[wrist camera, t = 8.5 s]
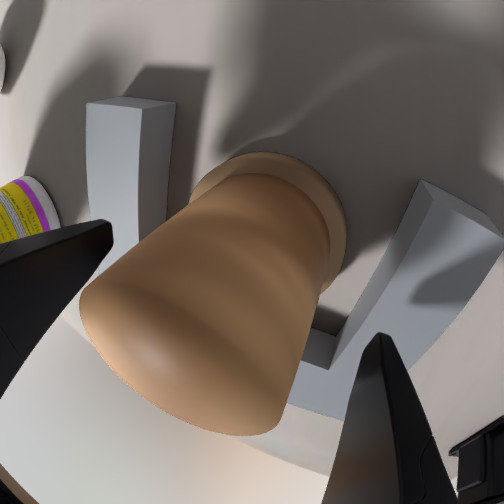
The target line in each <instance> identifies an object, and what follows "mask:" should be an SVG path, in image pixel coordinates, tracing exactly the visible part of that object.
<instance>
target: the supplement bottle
mask: <svg viewBox="0 0 504 504" xmlns="http://www.w3.org/2000/svg"><path fill="white" fill-rule="evenodd" d="M58 228H61V227H60V222H59V218H58V215H57V212H56V209H55V207H54V205H53V203H52V201H51V199H50V197H49V195H48V194H47V192H46V191H45V189H44V188H43V186H42V185H41V184H40V183H39V182H38V181H37V180H35V179H34V178H32V177H30V176H23V177H20V178H18V179H16V180H14V181H12V182H10V183H8V184H7V185H5V186H3V187H1V188H0V244H1V243H5V242H8V241H13V240H15V239H19V238H23V237H26V236H30V235H34V234H38V233H42V232H46V231H50V230H54V229H58Z"/></svg>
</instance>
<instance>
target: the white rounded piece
mask: <svg viewBox="0 0 504 504" xmlns="http://www.w3.org/2000/svg"><path fill="white" fill-rule="evenodd" d="M5 66H6V63H5V55H4V52H3V49H2V47H1V45H0V92H1V89H2V86H3V82H4V76H5Z"/></svg>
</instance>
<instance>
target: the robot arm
mask: <svg viewBox="0 0 504 504" xmlns="http://www.w3.org/2000/svg"><path fill="white" fill-rule="evenodd" d="M113 245H114V238H113V227H112V224H111V222H109V221H107V220H105V219H97V220H93V221H88V222H84V223H79V224H75V225H71V226H66V227H62V228H58V229H54V230H50V231H46V232H42V233H38V234H34V235H30V236H26V237H23V238H19V239H15V240H13V241H8V242H5V243H1V244H0V399H1V397H2V396H3V394H4V392H5V391H6V389H7V388H8V386H9V384H10V383H11V381H12V380H13V378H14V377H15V375H16V374H17V372H18V371H19V369H20V368H21V366H22V365H23V363H24V361H25V360H26V359H27V357H28V356H29V355H30V353H31V352H32V350H33V349H34V348H35V346H36V345H37V343H38V342H39V340H40V339H41V338H42V337H43V335H44V334H45V333H46V331H47V330H48V329H49V328H50V326H51V325H52V324H53V322H54V321H55V320H56V318H57V317H58V316H59V315H60V314H61V312H62V311H63V310H64V309H65V307H66V306H67V305H68V304H69V303H70V301H71V300H72V299H73V298H74V297H75V295H76V294H77V293H78V292H79V291H80V289H81V288H82V287H83V286H84V285H85V284H86V282H87V281H88V280H89V279H90V277H91V276H92V275H93V273H94V272H95V271H96V269H97V268H98V266H99V265H100V264H101V262H102V261H103V260H104V258H105V257H106V256H107V254H108V253H109V252H110V250H111V249H112V247H113ZM449 456H456V457H459V461H458V478H457V492H458V499H457V496H456V493H455V491H454V488H453V486H452V484H451V481H450V479H449V476H448V474H447V471H446V469H445V466H444V464H443V461H442V459H441V456H440V453H439V450H438V448H437V445H436V442H435V439H434V436H432V431H431V428H430V426H429V423H428V420H427V418H426V415H425V413H424V410H423V407H422V405H421V402H420V400H419V398H418V395H417V393H416V390H415V388H414V386H413V383H412V381H411V379H410V376H409V374H408V372H407V369H406V367H405V365H404V363H403V360H402V358H401V356H400V354H399V352H398V350H397V347H396V345H395V343H394V341H393V339H392V337H391V336H390V335H388V334H385V333H382V332H377V333H376V334H375V336H374V337H373V338H372V339H371V341H370V342H369V343H368V345H367V346H366V347H365V349H364V350H363V353H362V356H361V359H360V363H359V367H358V370H357V374H356V377H355V381H354V384H353V387H352V390H351V394H350V397H349V401H348V406H347V410H346V415H345V420H344V424H343V429H342V433H341V437H340V441H339V445H338V449H337V453H336V457H335V461H334V464H333V468H332V471H331V475H330V478H329V481H328V485H327V488H326V491H325V494H324V497H323V500H322V503H321V504H504V418H502V419H499V420H498V421H496V422H495V423H493V424H492V425H490V426H489V427H487V428H486V429H484V430H483V431H481V432H480V433H478V434H476V435H475V436H473V437H472V438H470V439H468V440H467V441H465V442H463V443H462V444H460V445H458V446H456V447H455V448H453V449H451V450H449ZM0 504H39V503H38V502H37V501H36V500H35V499H33V497H32V496H30V495H29V494H28V493H27V492H26V491H25V490H24V489H23V488H22V487H21V486H20V485H19V484H18V483H17V482H16V481H15V479H14V478H13V477H12V476H11V475H10V474H9V473H8V472H7V471H6V470H5V468H4V467H3V466H2V465H1V464H0Z"/></svg>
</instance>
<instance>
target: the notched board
mask: <svg viewBox="0 0 504 504" xmlns="http://www.w3.org/2000/svg"><path fill="white" fill-rule="evenodd" d="M176 104H177V103H173V102H166V101H159V100H152V99H143V98H134V97H124V96H120V97H114V98H109V99H103V100H98V101H94V102H89V103H87V104H86V170H87V187H88V199H89V210H90V219H91V221H93V220H97V219H105V220H107V221H109V222H111V224H112V227H113V238H114V245H113V247H112V249H111V250H110V252H109V253H108V254H107V256H106V257H105V258H104V260H103V261H102V262H101V264H100V265H99V266H98V272H99V275H100V274H101V273H103V272H104V271H105V270H106V269H107V268H109V267H110V266H111V265H112V264H113V263H114V262H116V261H117V260H118V259H119V258H120V257H122V256H123V255H124V254H125V253H127V252H128V251H129V250H130V249H131V248H133V247H134V246H135V245H136V244H138V243H139V242H140V241H141V240H143V239H144V238H145V237H147V236H148V235H149V234H150V233H152V232H153V231H154V230H155V229H157V228H158V227H159V226H161V225H162V224H163V223H165V222H166V214H167V195H168V180H169V168H170V156H171V146H172V136H173V128H174V119H175V111H176ZM503 249H504V236H503V235H502V234H501V232H500V231H499V230H498V228H497V227H496V226H495V224H494V223H493V222H492V221H491V219H490V218H489V217H488V216H487V215H486V214H485V213H483V212H481V211H480V210H478V209H476V208H475V207H473V206H471V205H470V204H468V203H466V202H464V201H462V200H461V199H459V198H457V197H455V196H453V195H452V194H450V193H448V192H446V191H444V190H442V189H440V188H438V187H436V186H434V185H432V184H430V183H428V182H426V181H424V180H422V179H420V180H419V183H418V185H417V187H416V190H415V192H414V194H413V197H412V199H411V201H410V203H409V205H408V208H407V210H406V212H405V214H404V216H403V218H402V220H401V222H400V225H399V227H398V229H397V231H396V233H395V235H394V237H393V239H392V241H391V243H390V245H389V247H388V248H387V250H386V252H385V254H384V256H383V258H382V260H381V262H380V264H379V265H378V267H377V269H376V271H375V273H374V274H373V276H372V278H371V280H370V282H369V283H368V285H367V287H366V289H365V290H364V292H363V294H362V295H361V297H360V299H359V300H358V302H357V304H356V305H355V307H354V309H353V310H352V312H351V314H350V315H349V317H348V318H347V320H346V322H345V323H344V325H343V326H342V328H341V329H340V331H339V332H338V334H337V336H336V337H335V336H332V335H330V334H327V333H324V332H322V331H319V330H316V329H314V328H310V331H309V335H308V338H307V341H306V345H305V348H304V351H303V354H302V358H301V361H300V364H299V367H298V370H297V373H296V376H295V379H294V382H293V385H292V388H291V391H290V394H289V397H288V400H287V403H289V404H291V405H294V406H297V407H300V408H303V409H306V410H309V411H312V412H315V413H318V414H322V415H325V416H328V417H332V418H335V419H338V420H342V421H344V420H345V415H346V410H347V406H348V401H349V397H350V394H351V390H352V387H353V384H354V381H355V377H356V374H357V370H358V367H359V363H360V359H361V356H362V353H363V350H364V349H365V347H366V346H367V345H368V343H369V342H370V341H371V339H372V338H373V337H374V336H375V334H376V333H377V332H382V333H385V334H388V335H390V336H391V337H392V339H393V341H394V343H395V345H396V347H397V350H398V352H399V354H400V356H401V358H402V360H403V363H404V365H405V367H406V369H407V371H408V370H409V369H410V368H411V367H412V366H413V365H414V364H415V363H416V362H417V361H418V360H419V359H420V358H421V357H422V356H423V354H424V353H425V352H426V351H427V350H428V349H429V348H430V347H431V346H432V345H433V344H434V343H435V341H436V340H437V339H438V338H439V337H440V336H441V335H442V333H443V332H444V331H445V330H446V329H447V328H448V326H449V325H450V324H451V323H452V322H453V320H454V319H455V318H456V317H457V315H458V314H459V313H460V312H461V310H462V309H463V308H464V306H465V305H466V304H467V302H468V301H469V300H470V298H471V297H472V296H473V294H474V293H475V292H476V290H477V289H478V287H479V286H480V285H481V283H482V282H483V280H484V279H485V277H486V276H487V274H488V273H489V271H490V270H491V268H492V267H493V265H494V263H495V262H496V260H497V259H498V257H499V255H500V254H501V252H502V250H503Z"/></svg>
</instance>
